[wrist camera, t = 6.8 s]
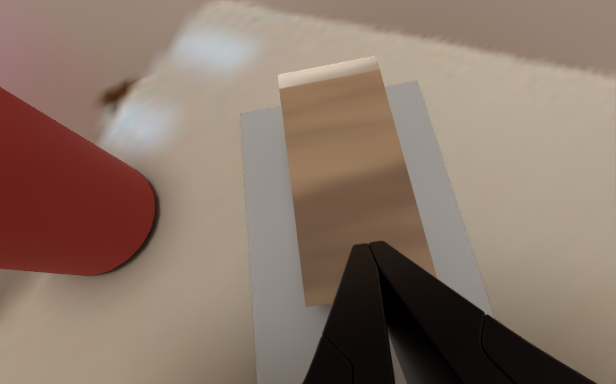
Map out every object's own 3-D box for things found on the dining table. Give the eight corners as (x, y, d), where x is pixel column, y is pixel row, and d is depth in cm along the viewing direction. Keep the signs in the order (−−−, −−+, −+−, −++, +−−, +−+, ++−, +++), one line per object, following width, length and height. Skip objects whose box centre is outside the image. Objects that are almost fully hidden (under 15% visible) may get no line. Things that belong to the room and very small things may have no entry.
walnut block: (440, 288, 10) (375, 55, 13) (305, 307, 10) (277, 74, 13) (411, 290, 14) (368, 114, 17) (317, 304, 14) (293, 127, 18)
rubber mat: (521, 413, 12) (527, 416, 12) (263, 441, 13) (260, 446, 13) (415, 85, 18) (417, 80, 18) (242, 117, 19) (240, 113, 18)
